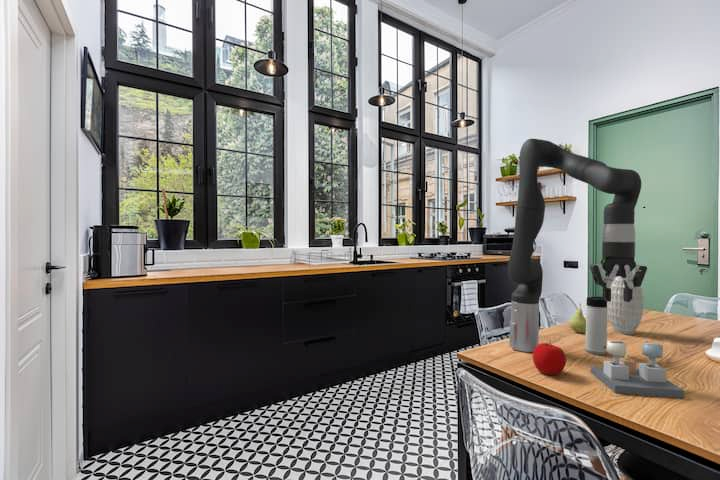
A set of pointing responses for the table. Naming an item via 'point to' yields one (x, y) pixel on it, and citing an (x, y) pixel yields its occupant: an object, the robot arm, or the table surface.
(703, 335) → the table surface
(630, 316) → the vase
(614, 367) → the plate
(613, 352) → the knob ivory
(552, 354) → the fruit
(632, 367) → the trim pot
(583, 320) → the fruit
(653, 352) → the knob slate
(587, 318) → the travel mug
